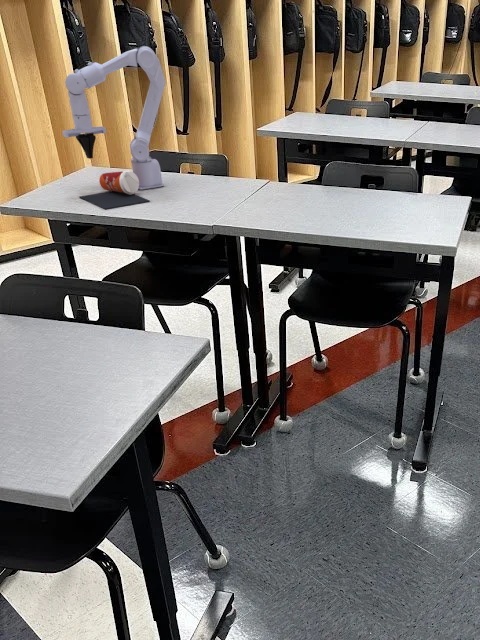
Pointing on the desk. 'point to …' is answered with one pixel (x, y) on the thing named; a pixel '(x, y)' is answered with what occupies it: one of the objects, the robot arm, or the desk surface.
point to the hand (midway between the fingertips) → (89, 158)
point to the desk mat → (114, 199)
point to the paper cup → (120, 182)
